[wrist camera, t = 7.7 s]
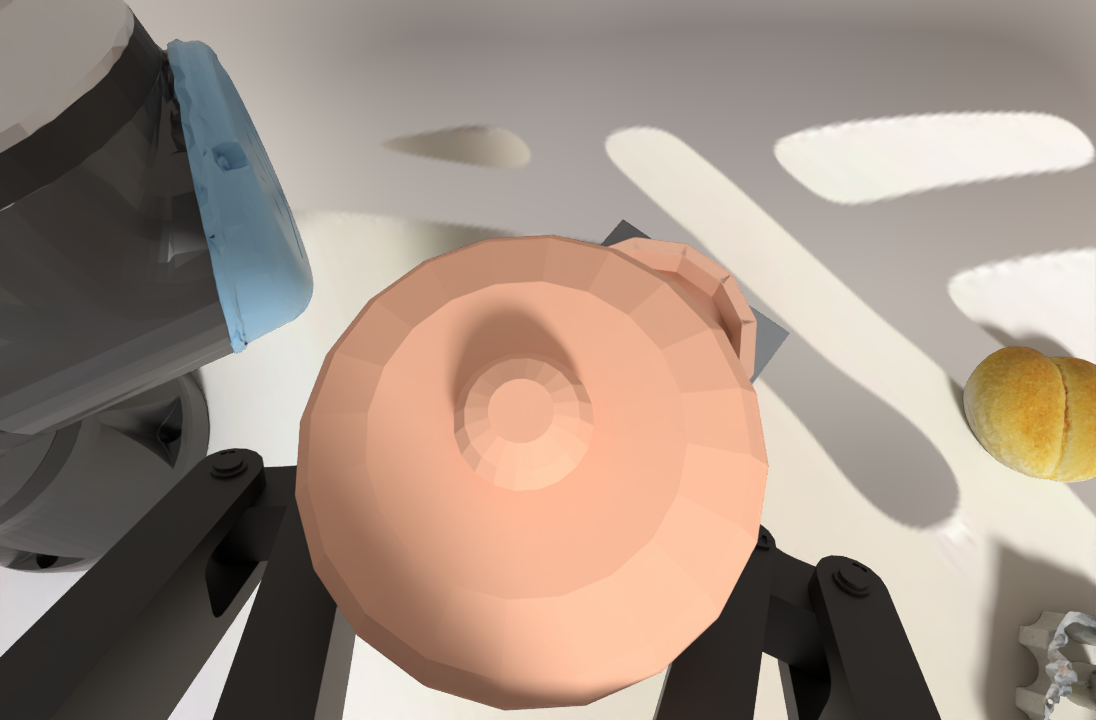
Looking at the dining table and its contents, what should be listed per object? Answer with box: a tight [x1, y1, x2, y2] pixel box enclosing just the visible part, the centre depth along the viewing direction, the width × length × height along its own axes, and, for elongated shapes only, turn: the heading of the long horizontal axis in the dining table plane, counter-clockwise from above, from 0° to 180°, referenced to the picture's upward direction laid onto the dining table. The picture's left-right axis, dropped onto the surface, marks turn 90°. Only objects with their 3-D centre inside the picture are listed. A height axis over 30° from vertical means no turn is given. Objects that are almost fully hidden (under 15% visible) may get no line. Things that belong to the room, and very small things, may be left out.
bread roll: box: [963, 346, 1096, 482], centre depth 37 cm, size 8×9×4 cm
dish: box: [608, 237, 757, 380], centre depth 39 cm, size 13×13×3 cm
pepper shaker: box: [295, 235, 769, 710], centre depth 16 cm, size 7×7×19 cm
